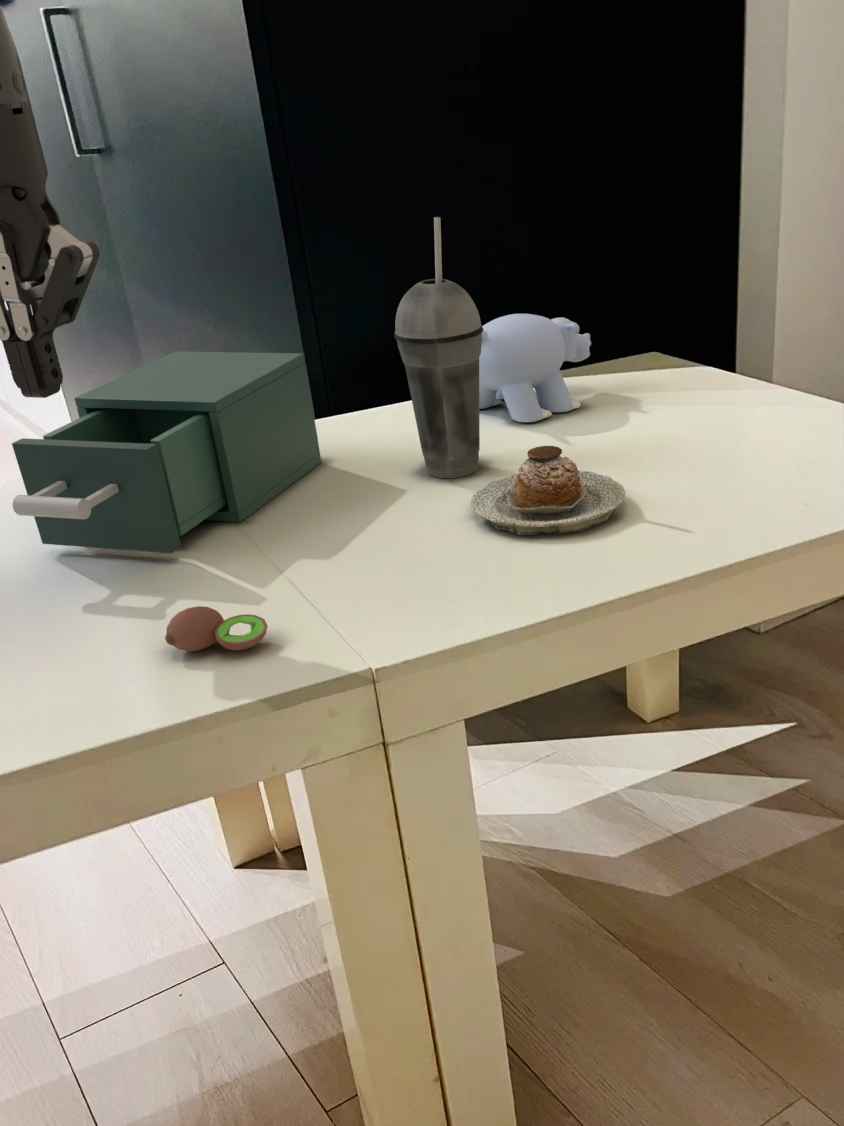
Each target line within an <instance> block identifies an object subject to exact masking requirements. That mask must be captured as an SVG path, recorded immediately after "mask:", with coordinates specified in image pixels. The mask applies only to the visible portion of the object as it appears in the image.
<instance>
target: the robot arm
mask: <svg viewBox="0 0 844 1126" xmlns="http://www.w3.org/2000/svg"><path fill="white" fill-rule="evenodd" d="M26 83H27V82H26V79H25V76H24V71H23V67H22V64H21V60H20V56H19V53H18V49H17V46H16V44H15V41H14V38H13V35H12V32H11V30H10V27H9V25H8V22H7V20H6V16H5V13H4V10H3V7H2V5H0V341H1V344H2V347H3V350H4V352H5V356H6V359H7V363H8V365H9V366H8V367H9V370H10V371H11V373H10V374H11V376H12V380H13V382H14V384H15V386H16V387H17V388H18V389H20V392H21V394H22V396H23V397H24V398H36V399H37V398H39V399H46V398H48V397H50V396H54V395H56V394H57V393H59V392H60V391H61V386H62V384H63V379H64V375H63V371H62V367H61V364H60V361H59V360H60V359H59V356H58V352H57V349H56V345H55V340H54V332H55V331H56V329H59V328H60V327H62V326H65V325H68V324H71V323H73V322H74V321H75V320H76V318H77V315H78V313H79V311H80V308H81V305H82V302H83V300H84V297H85V295H86V293H87V290H88V287H89V285H90V282H91V280H92V277H93V274H94V272H95V269H96V268H97V264H98V262H99V259H100V256H101V251H100V248H99V246H98V245H97V244H96V243H95V242H94V241H92V240H85V241H80V240H79V239H78V238H76V237H75V236H74V235H73V234H72V233H70V232H68V230H67V229H65V228H64V227H62V226H61V217H60V215H59V212H58V210H57V209H56V208H55V206H54V204H53V203H52V201H51V199H50V198H49V196H48V193H47V188H46V187H47V186H46V185H47V183H46V182H47V179H48V174H49V172H48V171H49V170H48V167H47V163H46V159H45V154H44V151H43V147H42V144H41V140H40V136H39V131H38V128H37V123H36V120H35V115H34V111H33V108H32V103H31V100H30V96H29V92H28V88H27V84H26ZM49 266H50V267H53V268H52V270H51V271H50V267H49Z"/></svg>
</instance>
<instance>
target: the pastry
mask: <svg viewBox="0 0 844 1126" xmlns="http://www.w3.org/2000/svg"><path fill="white" fill-rule="evenodd" d="M526 454H527V457H528V458H527V459H525V460H524V461H523V462H522V463H521V464H520V467H519V468H518V472H517V473H515V474H511V475H507V476H504V477H501V478H498V479H495V480H493V481H491V482H490V483H488V484H485V485H484V486H482V487H480V488H479V489H478V490H477V491H476V492H475V493H474V494H473V495H472V497H471V499H470V506H471V509H472V510H473V512H475V514H476V515H478V516H480V517H481V518H483V519H486V520H487V521H489V525H490V526H493V527H494V528H495V529H496V530H499V531H500V530H501V531H506V532H510V534H516V535H518V536H537V535H541V534H542V535H549V534H559V535H565V534H570V533H571V534H572V533H580V532H583V531H585V530H588V529H589V528H591V527H594V526H595V527H596V526H597V525H600V524H601V523H603V522H606V521H608V520H609V518H610V516H611V514H612V513H613V512H614V510H616V508H618V507H619V506H620V505H621V504H622V503H623V501H624V499H625V497H626V490H625V488H624V486H623V485H622V484H621V483H620V482H618V481H616V480H615V479H613V478H612V477H611V476H608V475H604V474H599V473H596V472H594V471H587V470H579V468H578V466H577V464H576V463H575V462H574V461H573V460H572V459H570V458H569V457H567V456H563V457H562V456H561V455H562V454H563V450H562V448H560V447H559V446H556V445H540V446H535V447H532V448H530V449H529V450H527V453H526Z"/></svg>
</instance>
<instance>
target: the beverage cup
mask: <svg viewBox="0 0 844 1126" xmlns="http://www.w3.org/2000/svg"><path fill="white" fill-rule="evenodd" d="M441 224H442V223H441V217H440V216H435V217H433V229H434V230H433V233H434V235H433V237H434V239H433V240H434V270H435V272H434V273H435V278H430V279H429V278H428V279H423V280H421V281H419V282H417V283H416V284H414V285H413V286H412V287H411V288H409V289H408V290H407V292H406V293H405V294H403V297H402V298H401V300H400V302H399V304H398V307H397V308H396V309H397V310H396V315H395V322H394V323H395V324H394V327H395V330H394V335H393V336H394V339H395V340H396V343H397V348H398V351H399V354H400V358H401V360H402V363H403V364H404V368H405V373H406V378H407V382H408V383H407V384H408V388H409V393H410V397H411V403H412V408H413V412H414V418H415V422H416V423H415V424H416V428H417V432H418V433H417V434H418V438H419V443H420V449H421V453H422V456H423V458H424V463H425V466H426V473H427V475H429V476H430V477H434V478H439V479H456V478H462V477H466V476H469V475H472V474H474V473H476V472H477V471H478V470H479V459H480V450H481V449H480V444H481V443H480V409H479V356H480V355H481V346H482V332H483V327H482V326H483V324H482V321H481V317H480V312H479V310H478V308H477V306H476V305H477V304H476V303H475V302H474V300H473V299H472V297H471V295H470V294H469V293H468V292H467V291H466V289H464V288H463V287H462V286H461V285H459V284H458V283H456V282H455V281H453V280H452V281H451V280H450V279H449V280H448V279H446V278H443V263H442V259H443V258H442V230H441V229H442V226H441Z"/></svg>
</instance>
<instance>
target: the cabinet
mask: <svg viewBox="0 0 844 1126" xmlns="http://www.w3.org/2000/svg"><path fill="white" fill-rule="evenodd" d="M73 399H74V402H75V406H76V411H77V414H78V419H79V418H81V417H83V416H85V415H87V414H89V413H91V412H93V411H96V410H98V409H100V408H108V409H138V410H168V411H199V412H209V417H210V421H211V426H212V431H213V436H214V440H215V445H216V450H217V454H218V459H219V464H220V469H221V473H222V478H223V483H224V488H225V492H226V497H227V502H228V504H226V505H225V506H223V507H222V508H221V509H219V510H218V511H216V512H215V513H213V514H212V515H211V516H209V517H208V518H206V519H205V520H204V521H214V522H215V521H216V522H230V523H241V522H243V521H244V520H245V519H247V518H248V517H250V516H251V515H252V514H254V513H255V512H256V511H258V510H259V509H260V508H262V507H263V506H265V505H266V504H267V503H268V502H270V501H271V500H273V499H274V498H275V497H276V496H278V495H279V494H281V493H282V492H283V491H285V490H286V489H287V488H288V487H291V486H292V485H293V484H294V483H296V482H297V481H298V480H299V479H301V478H302V477H304V476H305V475H306V474H307V473H309V472H310V471H311V470H313V469H314V468H316V467H317V466H318V465H320V464H322V456H321V449H320V443H319V438H318V432H317V426H316V420H315V413H314V407H313V400H312V394H311V389H310V384H309V377H308V369H307V365H306V359H305V354H304V353H301V352H299V353H297V352H295V353H294V352H238V351H236V352H235V351H233V352H231V351H230V352H229V351H175V352H172V353H170V354H168V355H166V356H163V357H162V358H158V359H157V360H155V361H152V362H149V363H148V364H145V365H143V366H141V367H139V368H137V369H134V370H133V371H130V372H128V373H126V374H123V375H121V376H119V377H116V378H115V379H112V380H110V381H108V382H105V383H103V384H101V385H99V386H97V387H95V388H93V389H91V390H87V391H86V392H84V393H82V394H80V395H77V396H75V397H74V398H73Z"/></svg>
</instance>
